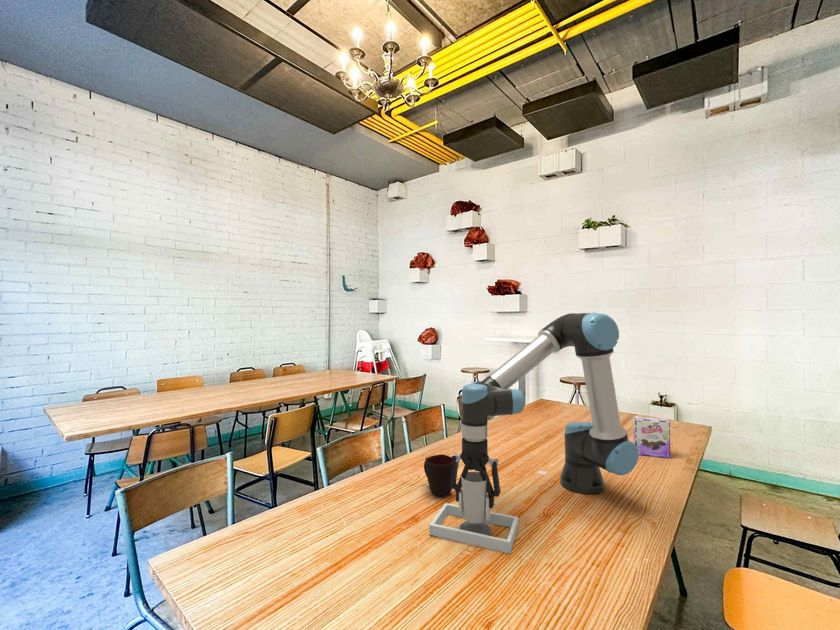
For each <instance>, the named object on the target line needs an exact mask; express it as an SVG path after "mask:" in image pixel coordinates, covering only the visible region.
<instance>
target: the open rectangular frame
mask: <svg viewBox="0 0 840 630" xmlns="http://www.w3.org/2000/svg"><path fill="white" fill-rule="evenodd" d="M447 516H453V517H458V518H463V519H464V512H463V513H462V515H459V504H458V505H457V504H452V503H447V502H445V503H444V504H443V505H442V507H441V508H440V509H439V511H438V512H437V514H436V515H435V516H434V518H433V519H432V521H431V522H430V523H429V524H428V525H429V528H428V529H429V535H428V536H431V535H433V536H432V537H435V536H438V537H437V538H439V537H441V538H440V539H444V538H445V539H444V540H448V539H449V540H448V541H453V542H457V541H458V542H457V543H461V542H462V543H461V544H465V543H466V545H470V544H471V546H474V545H475V547H478V546H479V548H484V549H487V550H492V551H495V552H496V551H498V552H500V553H506V554H508V555H509V554H511V552H512V549H513V546H514V542H515V539H516V536H517V533H518V530H519V517H518V516H515V515H508V514H505V513H504V514H503V513H498V512H494V511H491V517H490V519H489V521H487V520H486V519H485V521H484V523H486V524H492V525H496V526H502V527H505V528H506V527H507V528H510V530H509V533H508V536H507V539H506V538H501V537H497V536H494V535H493V536H492V535H489V536H488V535H483V534H479V533H474V532H470V531H465V530H460V528H455V527H449V526H445V525H440V524H442V523H443V522H444V520H445V519H446V517H447Z"/></svg>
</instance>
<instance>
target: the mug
mask: <svg viewBox="0 0 840 630" xmlns="http://www.w3.org/2000/svg"><path fill="white" fill-rule="evenodd" d="M452 465H453V463H452V456H450V455H447V454H434V455H430V456H428V457H426V458H425V460H424V462H423V470H424V473H425V476H426V478H427V483H428V486H429V487H428V488H429V490H430V492H431V495H433V496H434V497H437V498H439V499H440V498H445V497H448V496H449V495H450V494H451V492H452V490H453V489H451V488H450V479H451V472H452Z"/></svg>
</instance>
